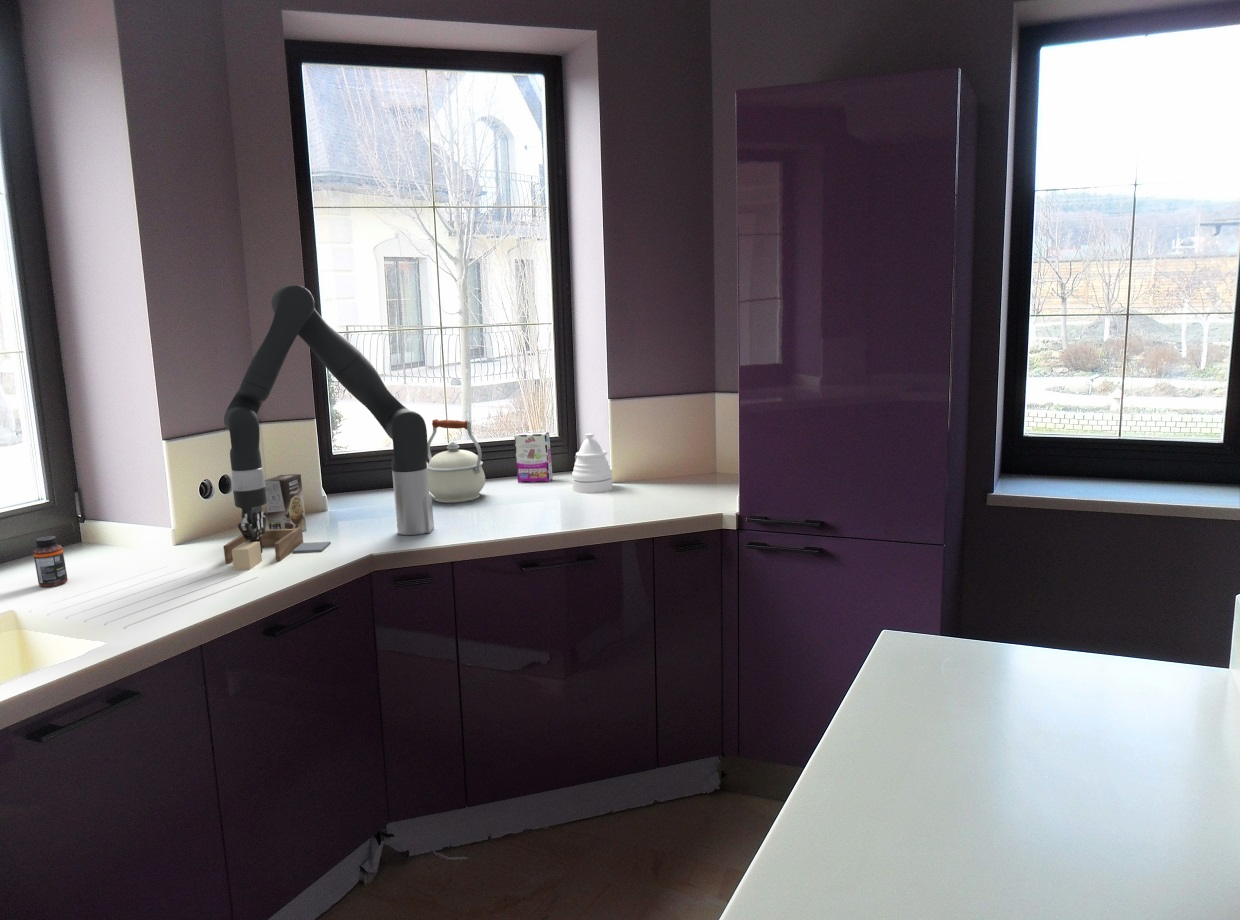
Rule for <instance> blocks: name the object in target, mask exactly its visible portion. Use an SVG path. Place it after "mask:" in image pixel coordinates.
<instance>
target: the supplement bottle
mask: <svg viewBox="0 0 1240 920" xmlns="http://www.w3.org/2000/svg"><path fill="white" fill-rule="evenodd" d="M35 543H36V547H35V548H34V550H33V559H34V563H35V569H36V570H35V571H36V576H37V577H36V578H37V582H38V586H39V587H41V588H53V587H52V586H54V587H57V586H61V584H62V585H64V584H65V583H66V582H68V573H67V568H66V567H67V566H66V561H65V555H64V549H63V546H62V545H61V544H58V542H57V536H55V535H47V536H41V537H38V538H36V539H35Z"/></svg>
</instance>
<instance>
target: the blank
mask: <svg viewBox="0 0 1240 920" xmlns="http://www.w3.org/2000/svg"><path fill="white" fill-rule="evenodd" d="M232 557H233V562H232V563H233V571H240V570H242V571H243V570H252V569H253V568H254V567H256V566H258V565H259V564H260V563H261V562H263V558H262V557H263V556H262V553H261V548H260V542H243V543H242V544H240V545H239V546H237V547H235V548H234V549H232Z"/></svg>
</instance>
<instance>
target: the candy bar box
mask: <svg viewBox="0 0 1240 920" xmlns="http://www.w3.org/2000/svg"><path fill="white" fill-rule="evenodd" d="M550 438H551V437H550V432H548V431H547V432H546V431H544V432H521V433H520V432H519V433H516V434H515V435H514V445H515V461H516V473H517V474H516V475H517V483H521V484H522V483H526V484H527V483H550V482H551V481H552V480H553V467H552V455H551V454H552V453H551V452H552V451H551V440H550Z"/></svg>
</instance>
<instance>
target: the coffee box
mask: <svg viewBox="0 0 1240 920" xmlns="http://www.w3.org/2000/svg"><path fill="white" fill-rule="evenodd" d="M302 483H303V482H302V475H301V474H300V473H295V474H293V473H292V474H291V473H290V474H279V475H277V476H273V477H270V478H268V479H265V487H266V496H267V503H266V504H265V505H266V506H265V507H266V512H267V526H268V530H279V529H295V528H302V533H303V532H305V531H307V528H308V527H307V521H306V512H305V502H304V493H303V484H302Z"/></svg>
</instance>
